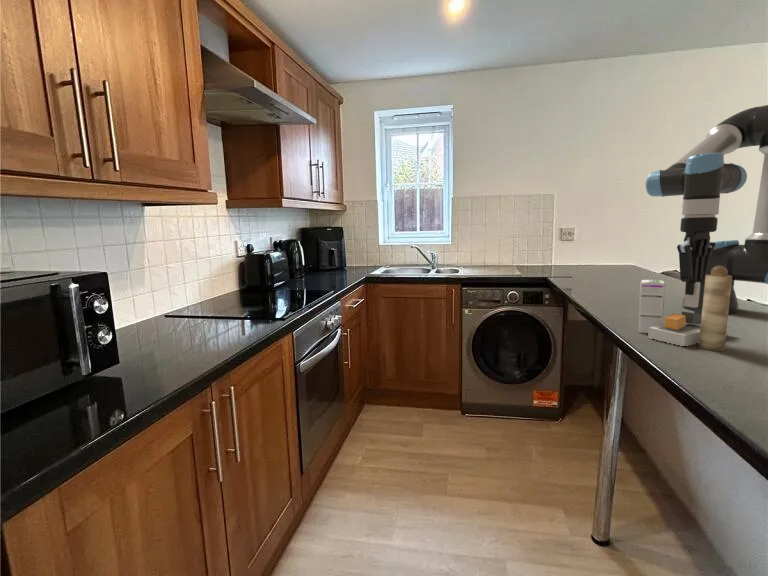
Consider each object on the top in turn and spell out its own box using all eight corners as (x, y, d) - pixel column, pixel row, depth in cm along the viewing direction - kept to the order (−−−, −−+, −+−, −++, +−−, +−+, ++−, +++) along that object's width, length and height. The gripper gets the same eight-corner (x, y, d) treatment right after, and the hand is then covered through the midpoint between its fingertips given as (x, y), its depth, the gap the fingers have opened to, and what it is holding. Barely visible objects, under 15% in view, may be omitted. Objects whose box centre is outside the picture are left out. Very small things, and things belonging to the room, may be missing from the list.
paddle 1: (673, 323, 110) (673, 313, 110) (685, 325, 108) (685, 315, 107) (665, 327, 109) (664, 317, 108) (677, 330, 106) (676, 320, 106)
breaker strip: (691, 328, 120) (692, 317, 119) (727, 335, 112) (729, 323, 111) (647, 338, 111) (648, 326, 111) (683, 347, 103) (685, 334, 103)
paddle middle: (687, 322, 113) (689, 312, 113) (699, 324, 110) (701, 314, 110) (679, 321, 111) (682, 311, 111) (692, 323, 109) (694, 313, 109)
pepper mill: (705, 343, 106) (713, 264, 102) (728, 348, 101) (737, 265, 98) (694, 346, 103) (702, 265, 100) (717, 352, 99) (726, 267, 96)
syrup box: (662, 335, 114) (666, 283, 111) (636, 332, 117) (640, 281, 115) (661, 330, 119) (665, 280, 116) (637, 327, 122) (640, 279, 119)
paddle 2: (700, 319, 116) (702, 309, 115) (712, 321, 113) (714, 311, 113) (692, 318, 114) (695, 308, 114) (705, 320, 111) (707, 310, 111)
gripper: (697, 216, 112) (689, 301, 116) (668, 217, 107) (661, 306, 111) (730, 215, 106) (720, 306, 110) (700, 216, 100) (691, 312, 104)
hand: (690, 306), depth 110 cm, fingers closed
